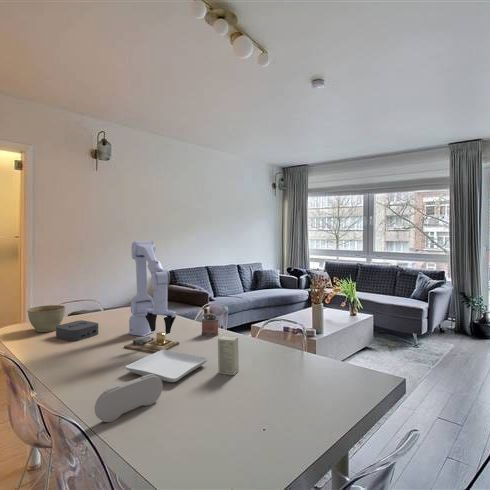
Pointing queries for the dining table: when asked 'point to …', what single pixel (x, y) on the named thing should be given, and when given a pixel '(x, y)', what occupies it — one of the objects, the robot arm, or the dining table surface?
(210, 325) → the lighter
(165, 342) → the brass gear
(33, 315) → the planter bowl
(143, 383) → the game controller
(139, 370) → the salad plate
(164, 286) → the robot arm
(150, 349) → the gear board
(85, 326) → the streaming box
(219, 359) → the skincare box
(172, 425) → the dining table surface
